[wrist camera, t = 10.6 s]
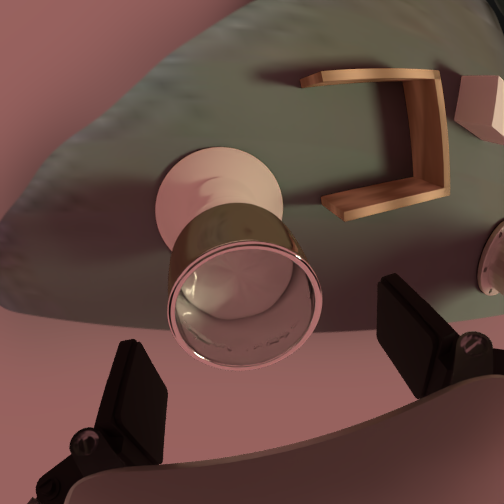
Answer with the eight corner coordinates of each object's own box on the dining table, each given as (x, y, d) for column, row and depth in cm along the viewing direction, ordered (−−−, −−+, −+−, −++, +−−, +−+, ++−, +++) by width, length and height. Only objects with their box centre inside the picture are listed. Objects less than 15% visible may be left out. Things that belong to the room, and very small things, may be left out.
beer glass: (185, 252, 27) (175, 379, 13) (178, 174, 24) (149, 242, 11) (262, 246, 28) (318, 364, 14) (262, 169, 25) (336, 230, 12)
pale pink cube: (453, 120, 26) (491, 126, 21) (460, 75, 24) (498, 75, 19) (481, 140, 28) (517, 149, 22) (489, 98, 25) (524, 102, 20)
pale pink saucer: (268, 134, 25) (269, 134, 24) (290, 250, 29) (292, 252, 29) (140, 167, 24) (139, 168, 23) (177, 279, 29) (177, 283, 28)
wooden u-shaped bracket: (406, 73, 24) (439, 70, 19) (419, 182, 28) (450, 195, 24) (299, 79, 23) (320, 71, 18) (321, 204, 28) (344, 221, 23)
